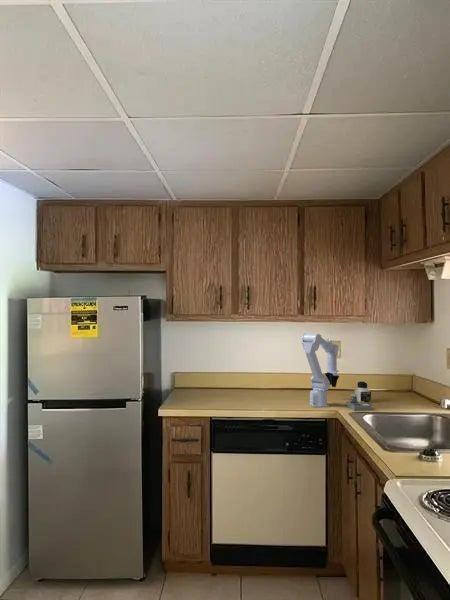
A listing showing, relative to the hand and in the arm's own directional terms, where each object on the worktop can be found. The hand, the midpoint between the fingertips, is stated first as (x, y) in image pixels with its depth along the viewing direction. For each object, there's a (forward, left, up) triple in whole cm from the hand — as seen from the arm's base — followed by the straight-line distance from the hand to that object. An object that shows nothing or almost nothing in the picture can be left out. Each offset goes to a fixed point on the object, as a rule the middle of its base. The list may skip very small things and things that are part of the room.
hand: (331, 385), depth 294 cm
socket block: (+10, -19, -9) cm, 23 cm away
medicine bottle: (+18, -3, -10) cm, 21 cm away
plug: (+8, -16, -9) cm, 20 cm away
